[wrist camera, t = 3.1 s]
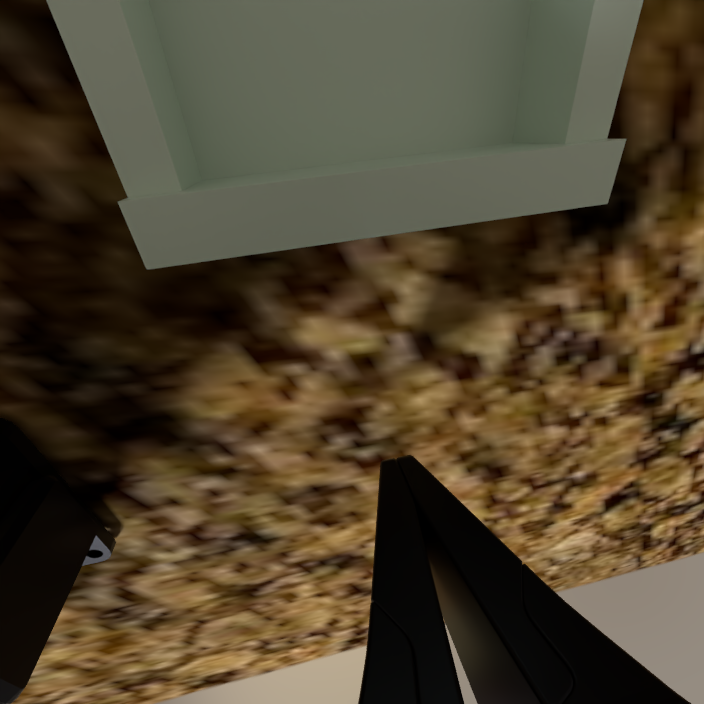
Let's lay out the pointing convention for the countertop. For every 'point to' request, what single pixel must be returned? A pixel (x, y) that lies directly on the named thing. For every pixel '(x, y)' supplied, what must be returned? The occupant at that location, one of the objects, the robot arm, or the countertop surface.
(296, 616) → the countertop surface
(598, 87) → the tray shell
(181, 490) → the countertop surface
